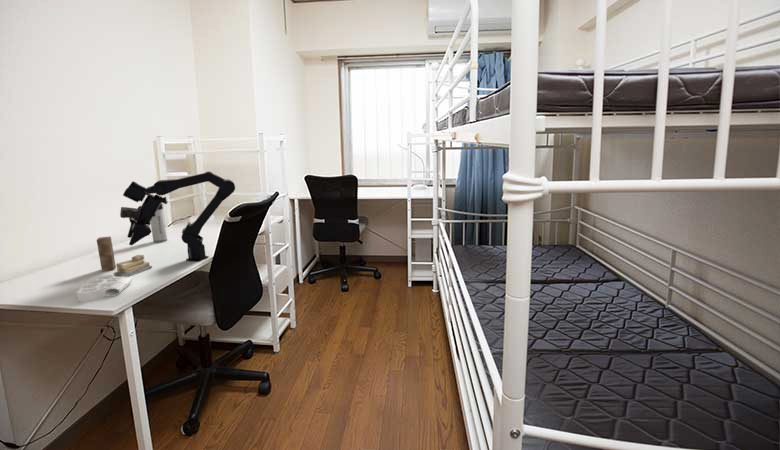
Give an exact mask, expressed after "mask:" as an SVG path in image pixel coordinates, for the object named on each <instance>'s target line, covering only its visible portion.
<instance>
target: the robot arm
mask: <svg viewBox="0 0 780 450" xmlns="http://www.w3.org/2000/svg"><path fill="white" fill-rule="evenodd" d="M207 182H209V183H211V184H212V185H214V186H215V187H217V188H218V189H217V191H216V193H215V194H214V196H213V197H212V199H211V200H210V201H209V203H208V204H207V205H206V206H205V208H204V209H203V210H202V211H201V213H200V214H199V216H198V217H197V218H196V219H195V221H194V222H192V223H191V222H187V224H186V226H185V227H184V228H182V231H181V240H182V242H183V243H184V244H186V245H187V256H188V257H187V258H186V261H191V262H192V261H194V262H199V261H202V260H205V259H207V258H209V255H206V249H205V248H206V247H205V244H203V240H204V237H202V236H201V235H200V233H201V230H202V229H203V227H204V225H205V224H207V222H208V220H209V219H210V218H211V217H212V215H213V214H214V213H215V212H216V210H217V209H218V207H220V205H221V204H222V203H223V201H225V200H226V199H227V198H229V197H230V196H231V195H232V194H233V193H234V192H235V190H236V185H235V182H234V181H233V180H231V179H225V178H223V177H220V176H219V175H216V174H215V173H213V172H212V171H206V172H203V173H198V174H193V175H190V176H185V177H181V178H176V179H175V178H174V179H172V178H171V179H160V180H157V181H156V182H155V183H154V184H153V185H151V186H147V187H144V186H143V185H141V184H138V182H136V181H134V180H133V181H131V183H130V184H129V186H128V187H127V188H126V189H125V190H124V191H123V194H122V197H125V198H127V199H129V200H131V201H134V202H136V203H139V202H140V203H141V202H142V204H141V205H139V206H138V207H137V208H134V207H128V206H127V207H126V206H121V207H120V212H119V216H120V218H122V219H125V218H126V219H129V223H130V227H129V230H128V233H127V238H129V239H130V241H129V243H128V245H130V246H133V245H135V244H136V243H137V242H139V241H140V240H142V239H144V238H146V237H147V236H150V235H151V234H152V228H151V222H150V221H151V220H152V218H153V216H154V217H155V216H156V214H155V213H156V211H157V210H158V208H159V206H160V205H161V204H164V205H167V204H168V202H169V201H168V199H167V196H166V195H168V194H170V193H172V192H175V191H177V190H179V189H181V188H186V187H190V186H194V185H198V184H203V183H207ZM154 194H155V195H154ZM162 196H164V197H162ZM143 200H144V201H143Z"/></svg>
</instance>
